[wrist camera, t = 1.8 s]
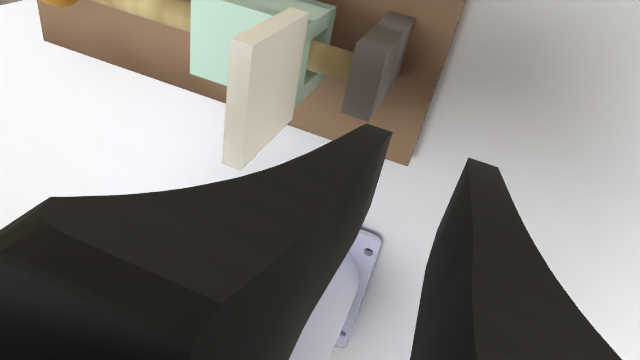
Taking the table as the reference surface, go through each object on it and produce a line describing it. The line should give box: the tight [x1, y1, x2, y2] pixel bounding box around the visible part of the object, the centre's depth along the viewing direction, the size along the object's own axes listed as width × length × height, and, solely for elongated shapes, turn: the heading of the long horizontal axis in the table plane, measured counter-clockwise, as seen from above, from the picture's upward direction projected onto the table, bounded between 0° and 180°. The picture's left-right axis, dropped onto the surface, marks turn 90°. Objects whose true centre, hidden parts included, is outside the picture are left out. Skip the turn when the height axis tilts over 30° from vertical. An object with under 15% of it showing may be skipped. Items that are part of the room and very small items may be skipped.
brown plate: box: [0, 0, 466, 166], centre depth 18 cm, size 10×20×6 cm, turn 80°
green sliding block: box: [190, 0, 337, 170], centre depth 15 cm, size 4×4×6 cm
